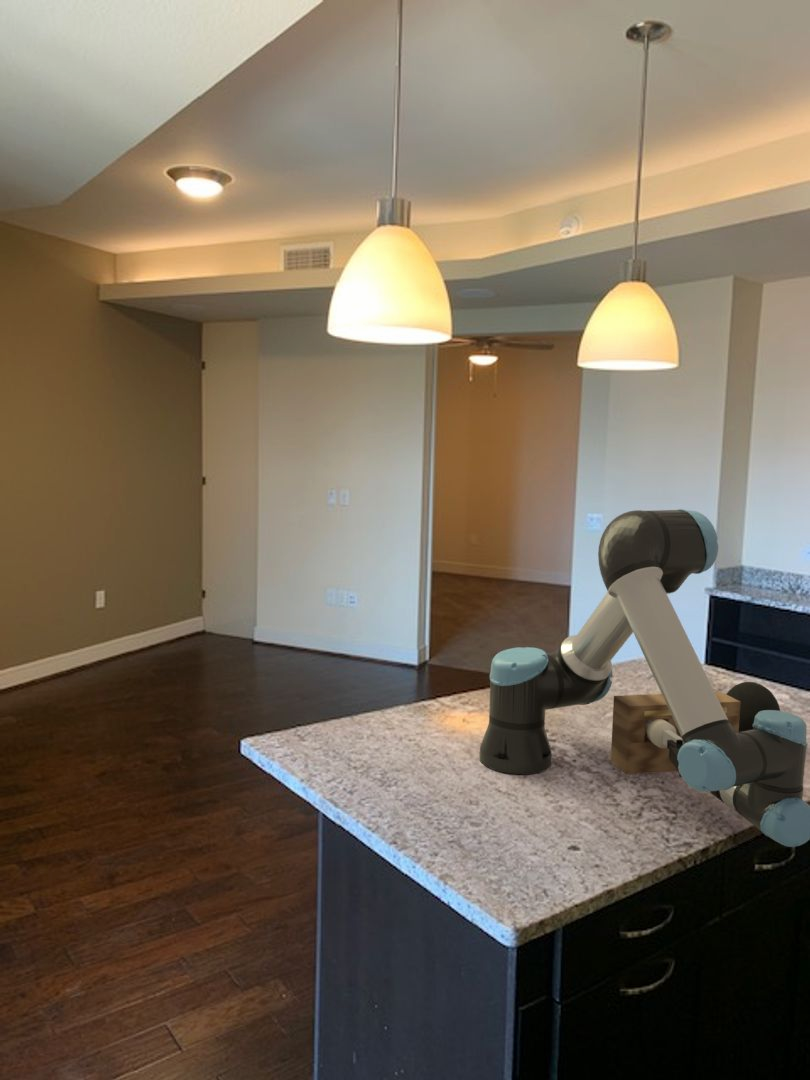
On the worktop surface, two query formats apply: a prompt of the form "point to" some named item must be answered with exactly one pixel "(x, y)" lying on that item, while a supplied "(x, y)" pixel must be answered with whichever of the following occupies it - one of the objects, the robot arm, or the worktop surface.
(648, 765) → the mount
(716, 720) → the robot arm
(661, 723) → the knob
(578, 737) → the worktop surface
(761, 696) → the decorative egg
